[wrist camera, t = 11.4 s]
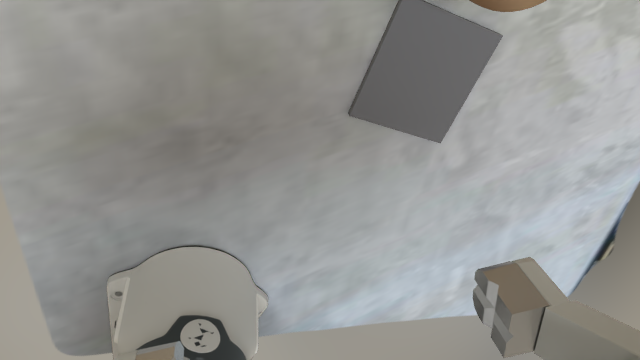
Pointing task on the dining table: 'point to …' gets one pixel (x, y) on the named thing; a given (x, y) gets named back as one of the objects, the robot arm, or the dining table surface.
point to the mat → (423, 70)
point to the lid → (507, 4)
